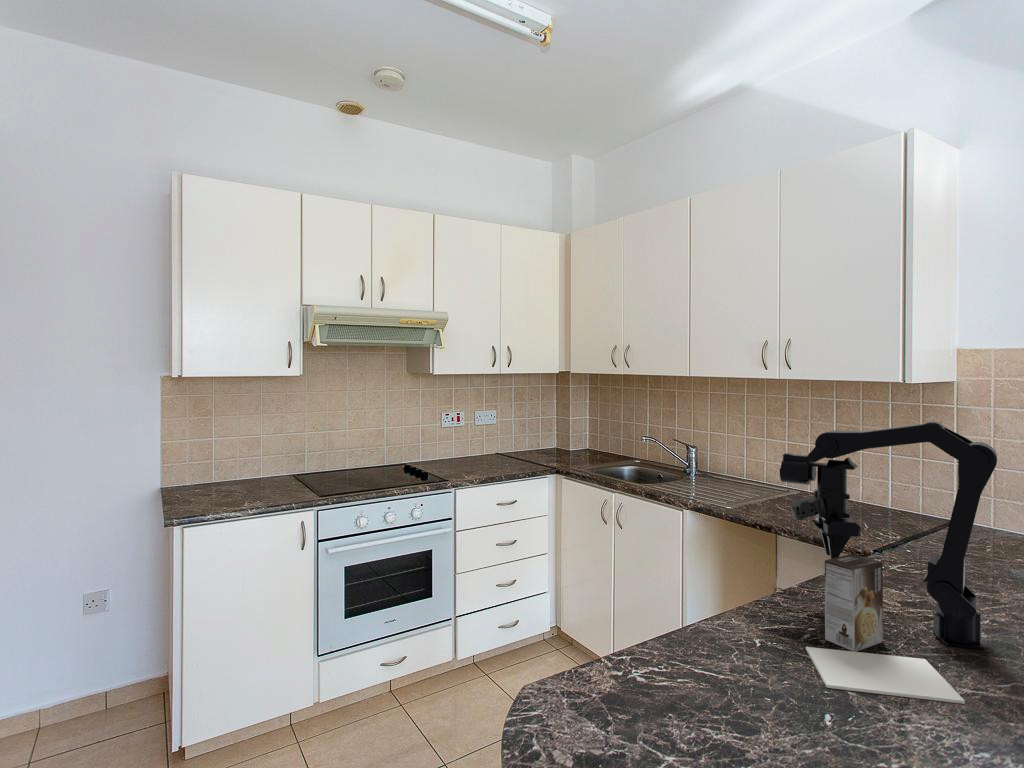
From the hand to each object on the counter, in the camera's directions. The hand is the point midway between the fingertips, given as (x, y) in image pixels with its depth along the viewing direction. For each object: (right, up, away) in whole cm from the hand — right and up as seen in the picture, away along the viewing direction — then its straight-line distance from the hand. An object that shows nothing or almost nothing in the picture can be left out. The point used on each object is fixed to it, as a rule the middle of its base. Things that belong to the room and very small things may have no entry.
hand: (831, 557), depth 128 cm
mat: (-7, -12, -27) cm, 30 cm away
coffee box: (-4, -12, -14) cm, 19 cm away
